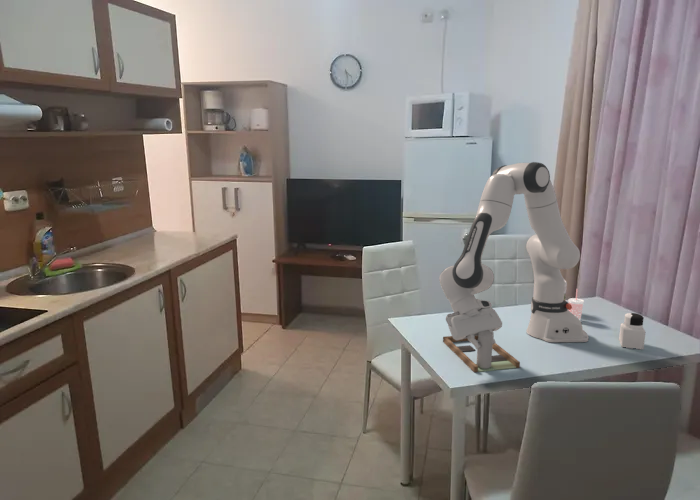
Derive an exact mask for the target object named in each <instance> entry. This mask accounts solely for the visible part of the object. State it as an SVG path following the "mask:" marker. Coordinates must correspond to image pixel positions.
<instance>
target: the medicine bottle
mask: <svg viewBox="0 0 700 500" xmlns="http://www.w3.org/2000/svg"><path fill="white" fill-rule="evenodd" d="M644 318H645V317H644V316H643V315H641V314H639V313H635V312H628V313H625V314H624V321H623V322H622V323H620V326H619V327H620V328H619V335H618V342H619V341H620V342H619V344H620V346H621V347H622V348H623V347H626V348H625V349H633V348H636V349H635V350H642V349H643V350H644V349H645V342H646V341H645V339H646V330H645V328H644Z"/></svg>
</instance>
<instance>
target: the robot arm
mask: <svg viewBox="0 0 700 500" xmlns="http://www.w3.org/2000/svg"><path fill="white" fill-rule="evenodd" d="M483 187H484V188H483V191H482V193H481V196H480V199H479V203H478V207H477V211H476V214H475V216H474V219H473V221H472V223H471V226H470V229H469V232H468V235H467V238H466V241H465V244H464V247H463V250H462V252H461V255H460V256H459V258H458V259H457V260H456V261H455V262H454V265H450V266H448V267H446V268H445V269H443V271H441V273H440V274H439V277H438V278H439V284H440V287H441V289H442V292H443V294H444V296H445V297H446V299H447V300H448V302H449V303H450V307H451V309H452V311H453V312H451V313H448V314H446V316H445V322H446V324H447V326H448V329H449V332H450V334H451V335H450V336H452V337H453V339H455V340H456V341H458V340H461V339H465V338H468V340H469V341H468V342H470V343H471V344H472V345H473V346H474V347H475V348H474V349H475V350H477V349H479V348H481V347H482V345H481V343H480V342H478V340H476V339H475V336H477V335H478V333H479V332H483V331H490V332H492V333H493V334H492V335H493V343H492V345H493V344H495V343H496V340H495V338H494V336H495V335H494V334H495V332H497V331H499V330H500V329H501V328H502V327H503V321H502V320H501V317H500V316H499V314H498V313H497V311H496V310H495V309H494V308H492V302H490V301H489V300H483V299H479V298H476V296H475V295H476V294H479V293H483V292H485V291H487V290H488V289H489V288H491V287H492V286H493V284H494V281H495V274H494V271H493V270H492V269H491V268H490V267H489V266H487V265H485V264H484V263H482V256H483V253H484V252H485V248H486V244H487V242H488V238H489V237H490V235H491V234H492V233H494V232H495V231H498V230H500V229H502V228H504V227H505V226H506V225H507V222H508V221H509V218H510V215H511V213H512V208H513V205H514V198H515V195H524V197H523V198H524V204H525V208H526V212H527V217H528V221H529V226H530V227H531V229H532V231H534V234H533V235H531V236H529V238H528V240H527V242H526V245H525V247H526V249H525V250H526V251H527V253H528V256H529V258H530V262H531V267H532V272H533V296H532V298H531V302H530V303H531V304H530V311H531V314H530V320H529V323H528V326H527V328H526V333H527V334H528V335H529V336H531V337H533V338H536V339H540V340H543V341H545V342H547V343H584V342H585V343H586V342H588V341H589V335H588V333H587V332H586V331H585V330H584V329H583V324H582V321H581V320H579V319H578V318H577V317H576V316H575V315H574V314H572V313H571V312H570V311H569V310H571V309H572V306H571V304H569V302H568V300H567V301H566V299H565V300H564V288H565V281H566V280H565V278H564V276H563V275H562V272H561V270H569V269H572V268H573V269H574V267H576V266H577V264H578V263H579V262H580V259H581V251H580V249H579V247H578V246H577V245H576V244H575V243H574V242H573V240H572V238H571V237H570V234H569V233H568V231H567V229H566V227H565V224H564V222H563V220H562V217H561V213H560V208H559V207H560V206H559V204H558V198H557V195H556V192H555V188H554V186H553V183H552V181H551V174H550V170H549V169H548V168H547V166H546V165H545V164H544V163H541V162H537V161H532V162H517V163H513V164H508V165H501V166H499V167H496V168H495V169H494V170H493V172H492V174H491V176H489V177H488V179H487V181H486V183H485V185H484V186H483ZM564 280H565V281H564ZM496 344H497V343H496Z"/></svg>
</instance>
